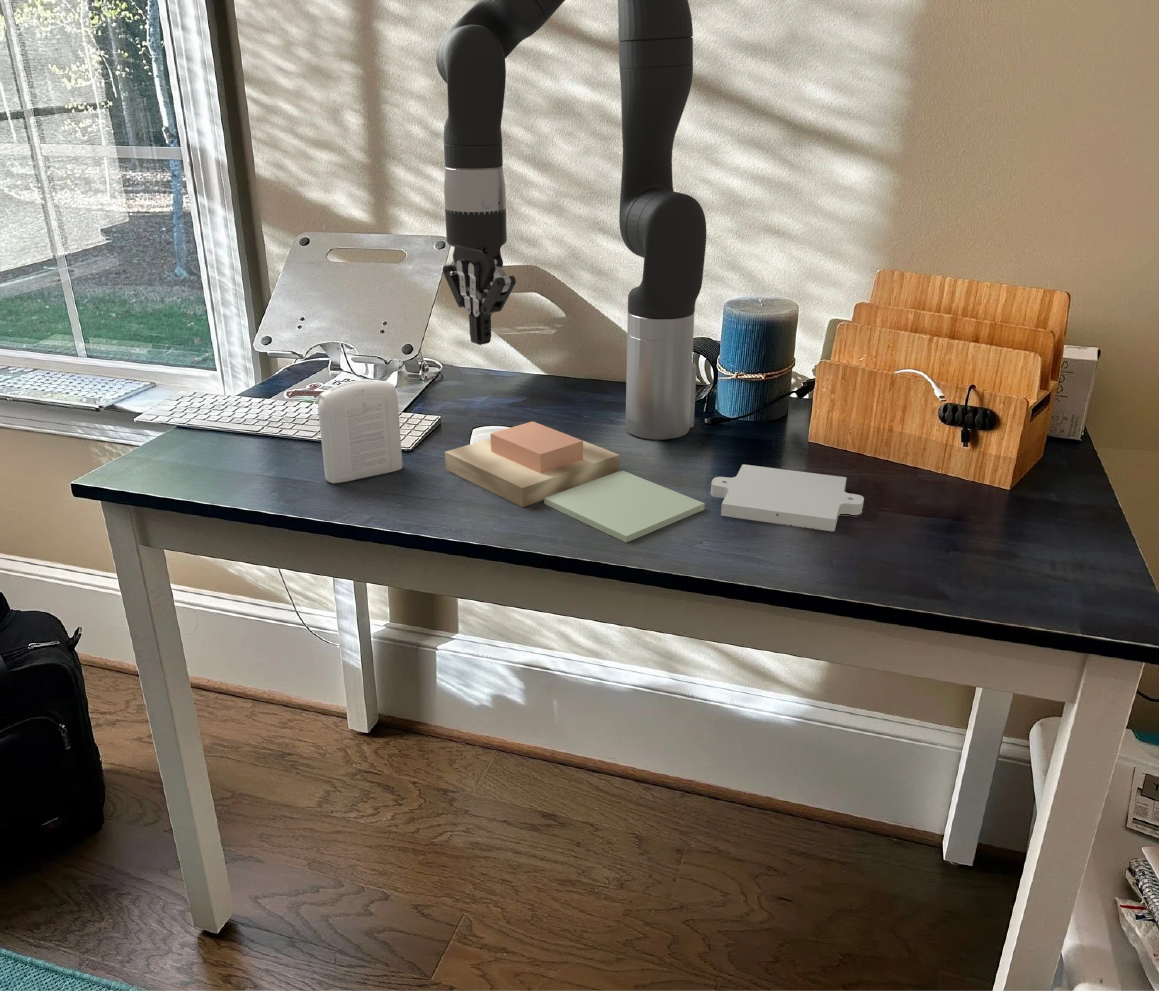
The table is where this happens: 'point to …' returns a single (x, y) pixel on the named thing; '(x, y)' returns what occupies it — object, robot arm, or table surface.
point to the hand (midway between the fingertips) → (480, 342)
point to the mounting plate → (786, 497)
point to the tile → (537, 446)
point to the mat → (624, 505)
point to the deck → (527, 472)
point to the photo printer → (359, 430)
